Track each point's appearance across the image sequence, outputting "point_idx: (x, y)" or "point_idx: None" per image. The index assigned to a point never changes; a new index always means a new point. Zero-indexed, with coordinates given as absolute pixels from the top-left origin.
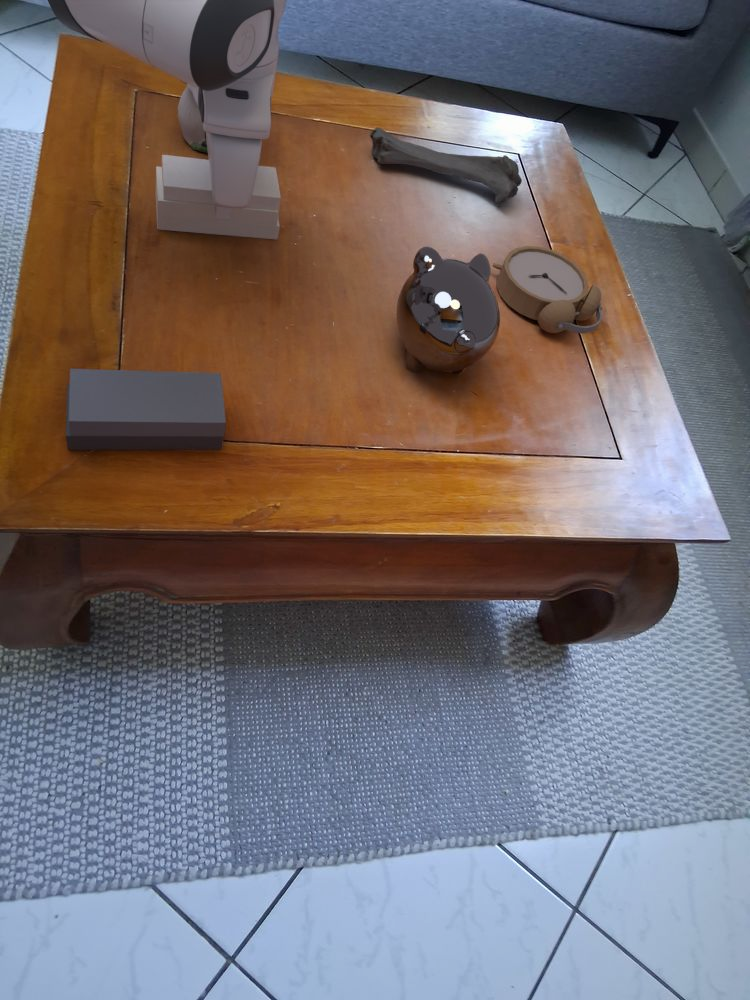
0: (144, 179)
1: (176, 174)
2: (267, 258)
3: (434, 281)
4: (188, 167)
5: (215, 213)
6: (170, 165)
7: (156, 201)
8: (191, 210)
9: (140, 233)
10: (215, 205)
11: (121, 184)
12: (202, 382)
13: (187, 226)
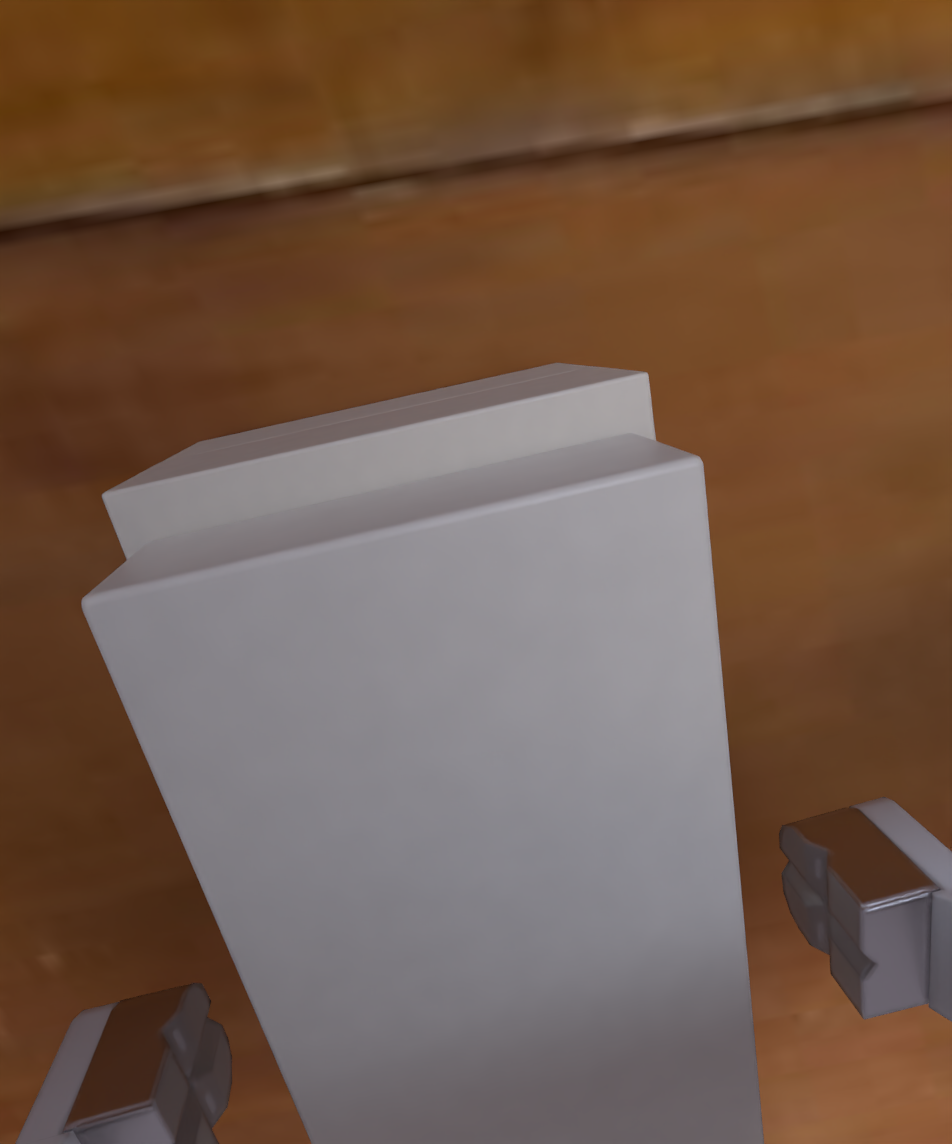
0: (716, 248)
1: (374, 688)
2: (234, 1039)
3: None
4: (549, 776)
5: (91, 1020)
6: (514, 595)
7: (407, 401)
8: None
9: (99, 330)
10: (122, 1055)
11: (614, 73)
12: None
13: None
